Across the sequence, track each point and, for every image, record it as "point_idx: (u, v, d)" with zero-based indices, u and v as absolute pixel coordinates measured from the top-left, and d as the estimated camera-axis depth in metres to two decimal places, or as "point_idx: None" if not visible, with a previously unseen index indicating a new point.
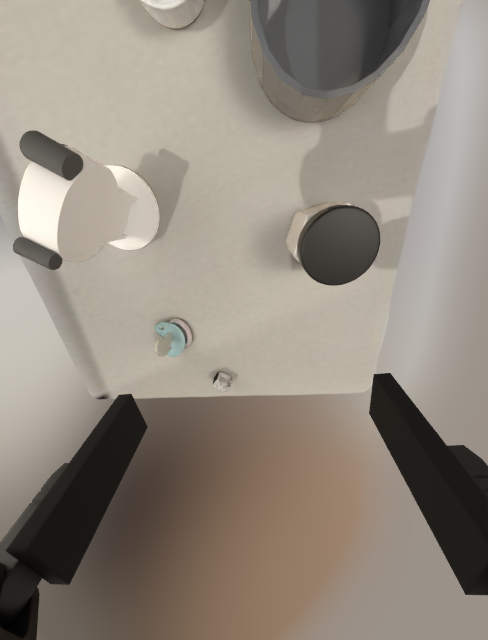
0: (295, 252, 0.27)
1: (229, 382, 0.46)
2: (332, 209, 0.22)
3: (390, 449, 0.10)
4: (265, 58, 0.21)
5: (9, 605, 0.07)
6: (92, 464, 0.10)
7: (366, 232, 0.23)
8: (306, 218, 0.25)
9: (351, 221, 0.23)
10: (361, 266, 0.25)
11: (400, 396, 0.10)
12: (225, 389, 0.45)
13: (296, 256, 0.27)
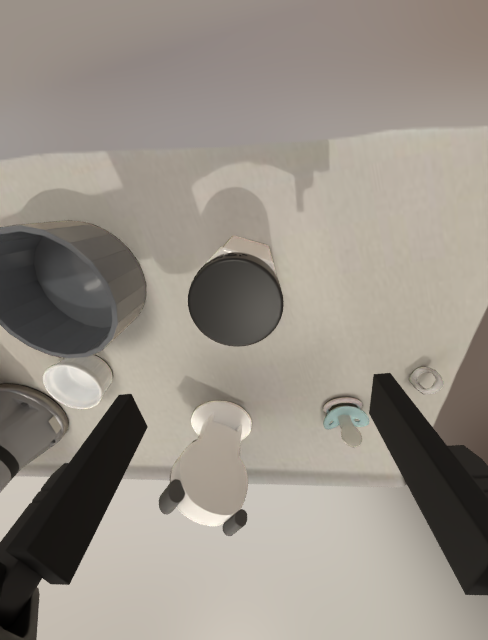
0: None
1: None
2: (192, 318, 0.20)
3: (390, 449, 0.10)
4: None
5: (9, 605, 0.07)
6: (92, 464, 0.10)
7: (215, 279, 0.18)
8: None
9: (203, 298, 0.19)
10: (258, 277, 0.18)
11: (400, 396, 0.10)
12: (438, 385, 0.32)
13: None
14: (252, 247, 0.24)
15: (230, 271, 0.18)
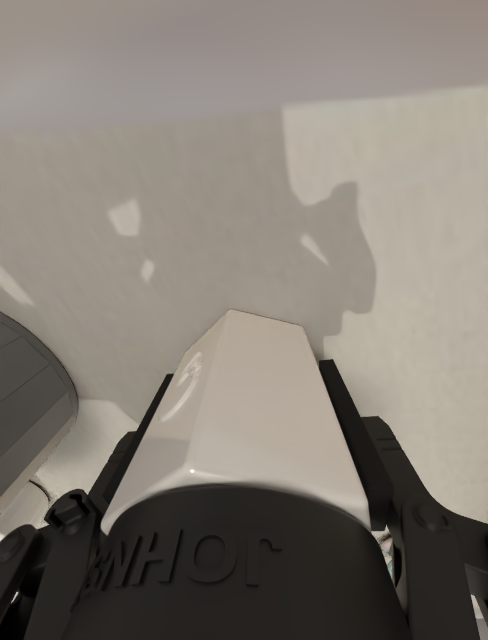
0: None
1: None
2: None
3: None
4: None
5: None
6: None
7: None
8: None
9: None
10: None
11: (335, 377, 0.11)
12: None
13: None
14: (277, 371, 0.09)
15: None
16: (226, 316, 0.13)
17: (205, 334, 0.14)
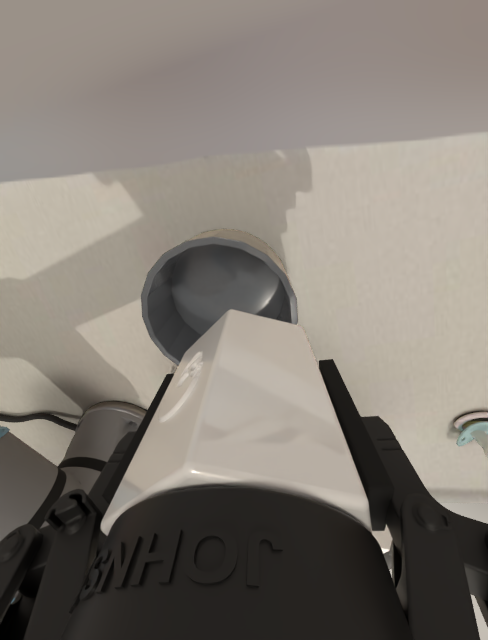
0: None
1: None
2: None
3: None
4: None
5: None
6: None
7: None
8: None
9: None
10: None
11: (335, 377, 0.11)
12: None
13: None
14: (277, 371, 0.09)
15: None
16: (226, 316, 0.13)
17: (205, 334, 0.14)
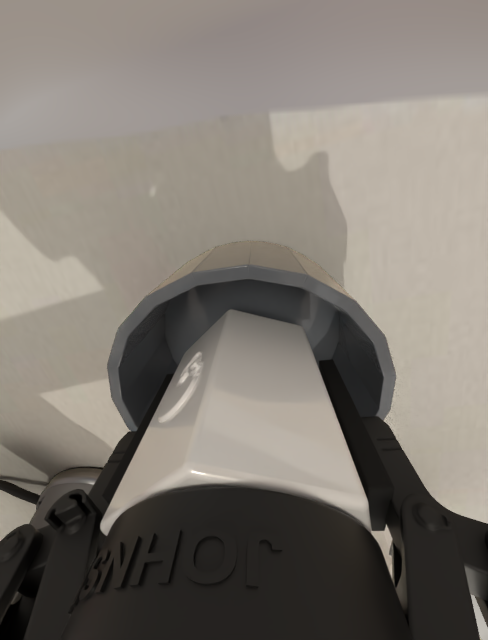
0: None
1: None
2: None
3: None
4: None
5: None
6: None
7: None
8: None
9: None
10: None
11: (335, 378, 0.11)
12: None
13: None
14: (277, 371, 0.09)
15: None
16: (226, 316, 0.13)
17: (205, 334, 0.14)
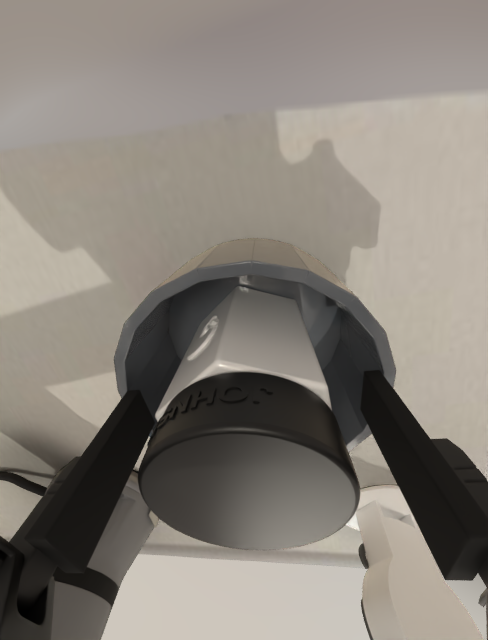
0: None
1: None
2: None
3: (379, 443, 0.11)
4: None
5: (27, 593, 0.07)
6: (104, 457, 0.10)
7: (195, 462, 0.07)
8: None
9: (172, 489, 0.08)
10: (304, 464, 0.07)
11: (388, 392, 0.10)
12: None
13: None
14: (273, 324, 0.13)
15: (233, 451, 0.07)
16: (235, 290, 0.16)
17: (217, 306, 0.17)
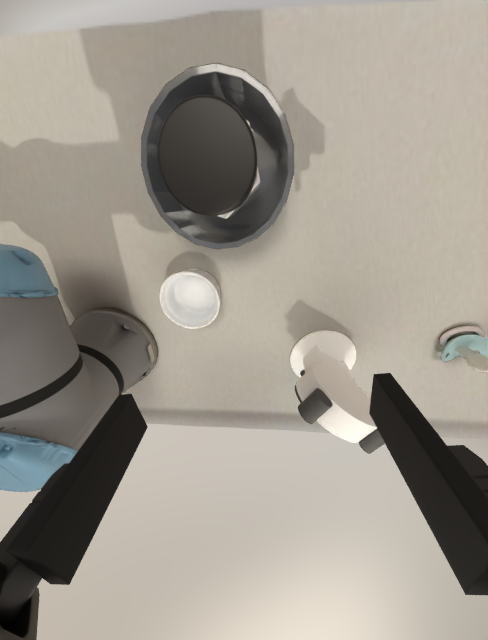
0: (222, 216, 0.23)
1: None
2: (163, 178, 0.19)
3: (390, 449, 0.10)
4: (258, 236, 0.26)
5: (9, 605, 0.07)
6: (92, 464, 0.10)
7: (184, 123, 0.17)
8: None
9: (173, 149, 0.18)
10: (229, 120, 0.17)
11: (400, 396, 0.10)
12: None
13: (226, 215, 0.22)
14: None
15: (200, 112, 0.17)
16: None
17: None
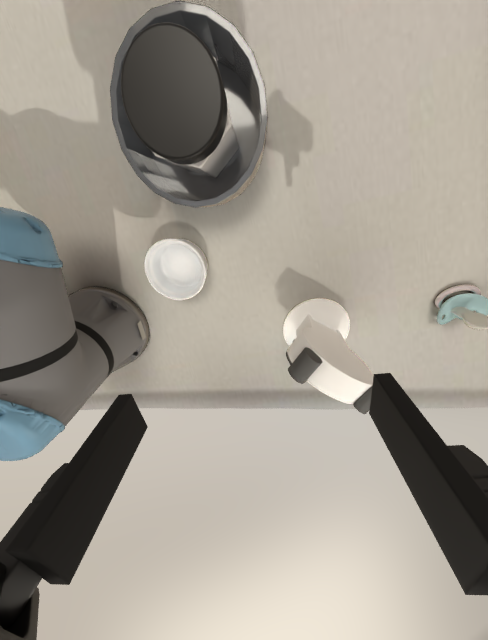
0: (196, 165, 0.22)
1: None
2: (130, 121, 0.19)
3: (390, 449, 0.10)
4: (237, 190, 0.25)
5: (9, 605, 0.07)
6: (92, 464, 0.10)
7: (145, 55, 0.17)
8: (157, 155, 0.22)
9: (137, 87, 0.18)
10: (191, 49, 0.17)
11: (400, 396, 0.10)
12: None
13: (200, 163, 0.22)
14: None
15: (160, 42, 0.16)
16: None
17: None
